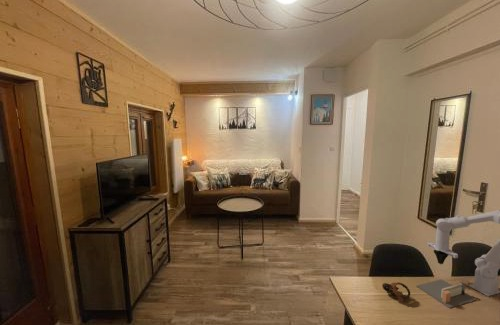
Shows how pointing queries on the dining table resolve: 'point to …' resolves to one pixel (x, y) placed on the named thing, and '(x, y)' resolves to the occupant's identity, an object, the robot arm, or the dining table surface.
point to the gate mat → (436, 289)
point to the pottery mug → (394, 288)
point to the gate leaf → (453, 290)
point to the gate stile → (446, 296)
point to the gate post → (463, 288)
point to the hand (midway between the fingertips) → (440, 263)
